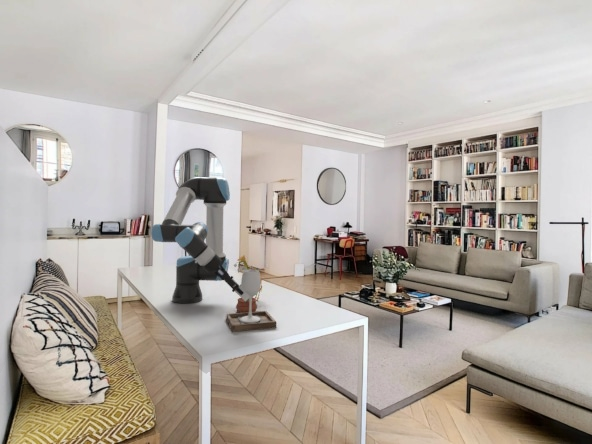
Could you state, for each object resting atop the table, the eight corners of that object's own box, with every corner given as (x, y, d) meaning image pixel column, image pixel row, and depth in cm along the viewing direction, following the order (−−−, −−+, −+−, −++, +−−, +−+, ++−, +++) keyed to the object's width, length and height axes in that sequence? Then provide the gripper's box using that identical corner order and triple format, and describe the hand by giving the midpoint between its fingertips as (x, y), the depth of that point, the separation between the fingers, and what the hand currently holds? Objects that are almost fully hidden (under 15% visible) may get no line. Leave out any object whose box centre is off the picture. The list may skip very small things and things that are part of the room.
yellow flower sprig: (239, 305, 171) (240, 255, 170) (234, 303, 174) (235, 255, 173) (264, 299, 182) (265, 253, 182) (259, 298, 186) (260, 253, 185)
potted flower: (235, 315, 153) (236, 261, 152) (229, 309, 162) (230, 258, 161) (260, 312, 158) (261, 260, 158) (252, 307, 167) (254, 257, 167)
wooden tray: (226, 319, 147) (226, 313, 147) (266, 316, 153) (266, 310, 153) (232, 331, 132) (232, 325, 132) (276, 327, 138) (276, 321, 138)
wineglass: (256, 324, 138) (257, 273, 138) (236, 322, 140) (237, 271, 139) (262, 317, 147) (264, 269, 146) (244, 316, 148) (245, 268, 148)
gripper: (199, 262, 147) (232, 294, 152) (204, 272, 123) (243, 309, 129) (211, 249, 148) (244, 282, 154) (219, 257, 125) (257, 295, 131)
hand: (244, 295), depth 141 cm, fingers open, 13 cm apart
